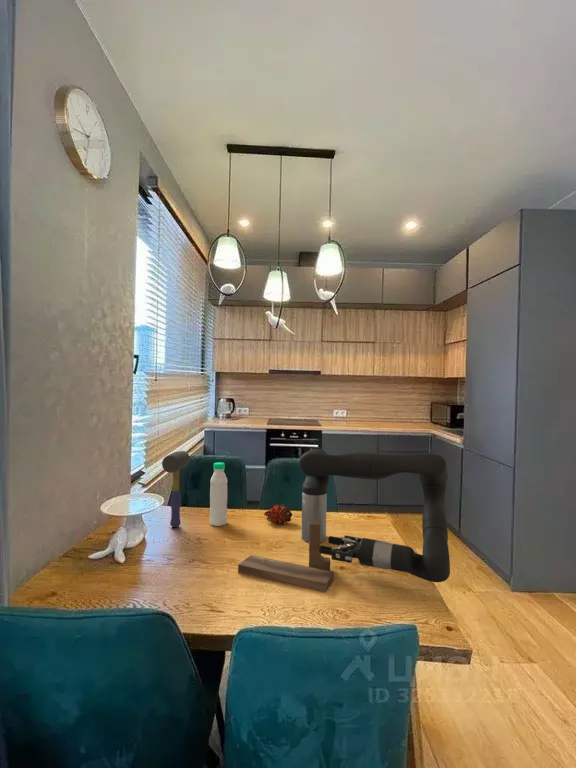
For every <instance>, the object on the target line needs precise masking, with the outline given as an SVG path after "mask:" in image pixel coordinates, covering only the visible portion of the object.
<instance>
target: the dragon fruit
mask: <svg viewBox="0 0 576 768" xmlns="http://www.w3.org/2000/svg"><path fill="white" fill-rule="evenodd" d="M263 516H265V517H266V521H268V522H269V523H273V524H275V526H278V525H285V524H286V523H287V522H291V521H292V517H293V513H292V511H291V510H290V508H288V507H287V506H286V505H284V503H283V504H282V503H281V505H279V504H274V505H273V506H271V508H269V509H267V511H265V512H264V514H263Z"/></svg>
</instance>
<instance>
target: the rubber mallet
mask: <svg viewBox="0 0 576 768" xmlns="http://www.w3.org/2000/svg"><path fill="white" fill-rule="evenodd" d="M190 462H191V456H190V454H189V453H188V452H187V451H185V450H179V451H174V452H172V453H170V454H168V455H166V456H165V457H164V458H163V459H162V462H161V467H162V469H163V470H164V471H165V472H166V473H170V474H171V473H172V491H171V498H170V509H171V513H170V514H171V518H170V521H169V524H170V527H171V526H172V527H177V528H179V527H180V525H181V509H180V508H181V502H182V500H181V499H182V498H181V491H180V471H181V470H183V469H185V468H186V467H188V465H189V464H190ZM178 526H179V527H178ZM172 527H171V528H172Z"/></svg>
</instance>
